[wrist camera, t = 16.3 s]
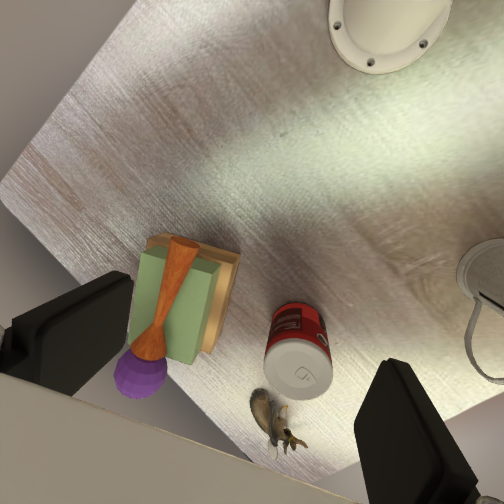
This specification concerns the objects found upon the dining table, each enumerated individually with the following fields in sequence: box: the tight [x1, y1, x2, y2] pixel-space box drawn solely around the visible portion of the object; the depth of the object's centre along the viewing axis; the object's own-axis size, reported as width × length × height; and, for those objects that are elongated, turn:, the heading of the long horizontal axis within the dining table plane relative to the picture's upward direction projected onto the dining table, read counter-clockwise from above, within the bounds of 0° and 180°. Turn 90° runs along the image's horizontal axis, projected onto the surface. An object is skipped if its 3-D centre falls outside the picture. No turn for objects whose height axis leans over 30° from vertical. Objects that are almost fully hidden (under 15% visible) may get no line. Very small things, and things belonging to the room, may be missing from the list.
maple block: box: [146, 232, 241, 354], centre depth 41 cm, size 14×12×5 cm
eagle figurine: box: [250, 389, 308, 459], centre depth 44 cm, size 8×7×9 cm
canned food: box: [264, 303, 333, 401], centre depth 37 cm, size 8×8×11 cm
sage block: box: [128, 245, 221, 365], centre depth 37 cm, size 13×9×4 cm
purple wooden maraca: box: [114, 236, 200, 399], centre depth 33 cm, size 6×6×20 cm
